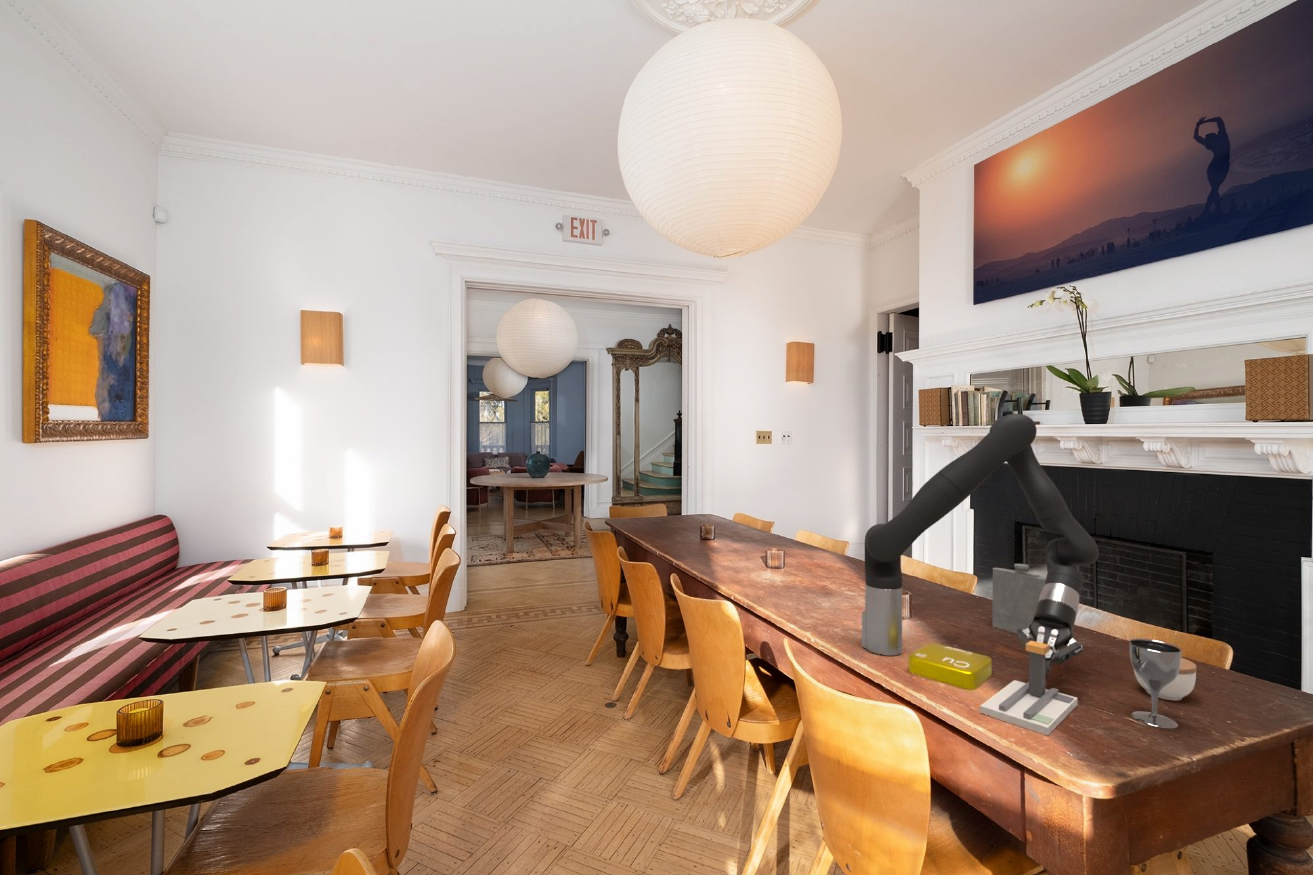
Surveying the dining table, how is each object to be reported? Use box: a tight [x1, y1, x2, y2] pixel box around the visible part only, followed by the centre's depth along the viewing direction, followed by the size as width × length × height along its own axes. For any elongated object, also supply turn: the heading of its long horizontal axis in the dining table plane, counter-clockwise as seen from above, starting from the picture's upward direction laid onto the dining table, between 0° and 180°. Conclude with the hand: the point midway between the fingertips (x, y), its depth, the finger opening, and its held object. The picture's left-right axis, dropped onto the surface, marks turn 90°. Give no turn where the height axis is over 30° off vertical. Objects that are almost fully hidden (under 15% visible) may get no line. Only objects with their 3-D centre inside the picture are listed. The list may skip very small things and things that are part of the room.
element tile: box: [908, 642, 993, 691], centre depth 141 cm, size 15×15×5 cm
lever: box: [1025, 640, 1049, 697], centre depth 125 cm, size 3×3×11 cm
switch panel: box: [979, 679, 1079, 736], centre depth 122 cm, size 12×20×2 cm, turn 131°
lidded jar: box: [1133, 657, 1198, 701], centre depth 130 cm, size 11×11×9 cm
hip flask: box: [991, 563, 1047, 640], centre depth 171 cm, size 16×4×20 cm, turn 26°
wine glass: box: [1129, 638, 1182, 730], centre depth 118 cm, size 8×8×15 cm
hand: (1039, 675), depth 127 cm, fingers closed
